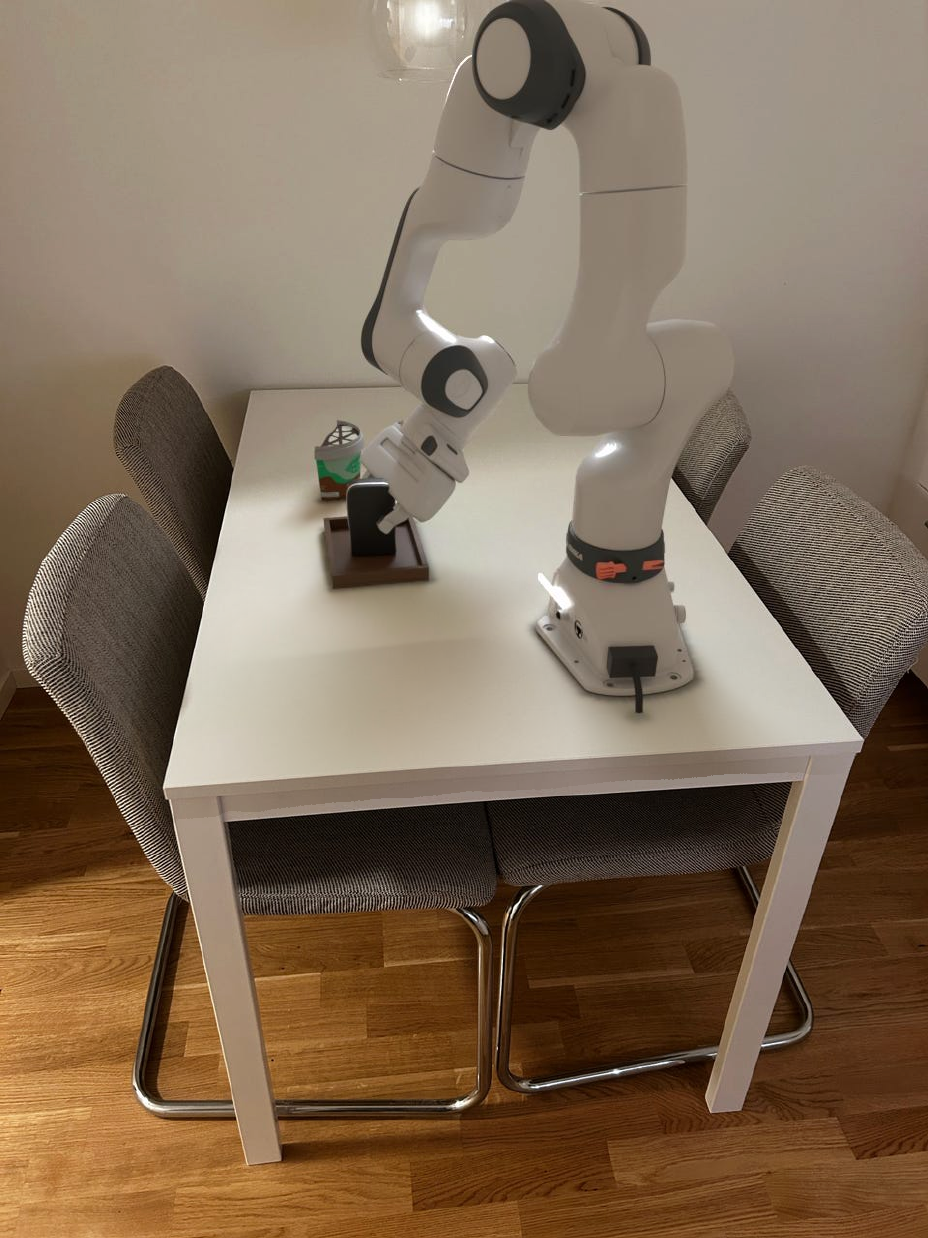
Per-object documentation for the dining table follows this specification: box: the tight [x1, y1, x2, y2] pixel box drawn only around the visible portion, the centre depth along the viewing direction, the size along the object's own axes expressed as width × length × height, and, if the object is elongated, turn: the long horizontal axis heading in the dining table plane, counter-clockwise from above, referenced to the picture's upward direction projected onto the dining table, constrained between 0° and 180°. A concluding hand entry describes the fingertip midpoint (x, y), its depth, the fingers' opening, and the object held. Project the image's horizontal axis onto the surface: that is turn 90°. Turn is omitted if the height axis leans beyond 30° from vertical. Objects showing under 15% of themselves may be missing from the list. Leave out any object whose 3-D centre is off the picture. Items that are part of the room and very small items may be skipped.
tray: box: [323, 515, 430, 590], centre depth 139 cm, size 18×14×2 cm
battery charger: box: [345, 478, 397, 556], centre depth 136 cm, size 7×4×11 cm, turn 95°
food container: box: [314, 419, 366, 502], centre depth 154 cm, size 12×6×10 cm, turn 168°
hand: (368, 515), depth 135 cm, fingers open, 8 cm apart
